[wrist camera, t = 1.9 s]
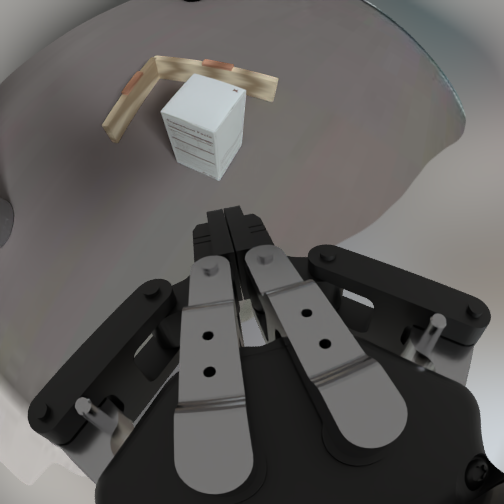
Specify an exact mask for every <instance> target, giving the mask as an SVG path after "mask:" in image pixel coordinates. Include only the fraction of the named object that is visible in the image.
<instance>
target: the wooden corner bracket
mask: <svg viewBox="0 0 504 504" xmlns="http://www.w3.org/2000/svg"><path fill="white" fill-rule="evenodd" d="M194 73H195V74H199V75H202V76H206V77H209V78H213V79H216V80H219V81H222V82H225V83H228V84H231V85H234V86H237V87H239V88H242V89H245V90H246V95H248V96H252V97H256V98H259V99H263V100H266V101H270V102H273V99H274V96H275V92H276V88H277V83H278V79H279V78H276V77H272V76H268V75H265V74H261V73H257V72H253V71H249V70H245V69H240V68H236V67H234V64H229V63H224V62H218V61H213V60H207V59H205V60H204V61H198V60H191V59H183V58H175V57H166V56H155V57H154V58H153V57H151V58H150V59H149V60H148V62H147V63H146V64H145V65H144V67H143V68H142V69H141V70H140V72H138V71H137V72H136V73H135V75H134V76H133V77H132V78H131V80H130V81H129V82H128V84H127V85H126V86H125V88H124V89H123V91H122V96H121V97H120V98H119V100H118V101H117V103H116V104H115V106H114V107H113V109H112V110H111V112H110V113H109V115H108V116H107V118H106V119H105V121H104V123H103V124H102V126H103V128H104V130H105V131H106V133H107V134H108V136H109V138H110V139H111V141H112V142H115V143H118V142H119V141H120V139H121V137H122V135H123V134H124V132H125V130H126V129H127V127H128V125H129V124H130V122H131V120H132V119H133V117H134V116H135V114H136V112H137V111H138V109H139V108H140V106H141V105H142V103H143V102H144V100H145V99H146V97H147V96H148V94H149V93H150V91H151V90H152V89H153V87H154V86H155V84H156V83H157V82H158V80H159V79H160V78H161V79H168V80H175V81H181V82H186V81H187V80H188V79H189V78H190V77H191V76H192V75H193V74H194Z"/></svg>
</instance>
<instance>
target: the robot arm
mask: <svg viewBox="0 0 504 504" xmlns="http://www.w3.org/2000/svg"><path fill="white" fill-rule="evenodd" d="M224 215H225V217H224ZM13 217H14V215H13V209H12V206H11V204H10V203H9V202H7V201H6V200H4V199H2V198H0V248H1V247H2V246H3V245H4V244H5V242H6V241H7V239H8V237H9V235H10V233H11V229H12V226H13ZM207 218H208V223H204V224H199V225H197V226H196V227H195V229H194V230H193V244H194V245H193V246H194V262H195V263H194V264H193V265H192V267H191V270H190V276H189V277H188V278H186V279H185V280H183V281H181V282H179V283H177V284H175V285H173V286H171V284H170V282H168V281H167V280H164V279H154V280H150V281H147V282H145V283H144V284H142V285H141V286H140V287H138V288H137V289H136V290H135V291H134V292H133V293H132V294H131V295H130V296H129V297H128V298H127V299H126V300H125V301H124V302H123V303H122V304H121V305H120V306H119V307H118V308H117V309H116V310H115V311H114V312H113V313H112V314H111V315H110V316H109V317H108V318H107V319H106V320H105V321H104V322H103V323H102V325H101V326H100V327H99V328H98V329H97V330H96V331H95V332H94V333H93V334H92V335H91V336H90V337H89V338H88V339H87V340H86V341H85V342H84V343H83V344H82V345H81V347H80V348H79V349H78V350H77V351H76V352H75V353H74V354H73V355H72V356H71V357H70V358H69V360H68V361H67V362H66V363H65V364H64V365H63V366H62V367H61V368H60V369H59V371H58V372H57V373H56V374H55V375H54V376H53V377H52V378H51V380H50V381H49V382H48V383H47V384H46V385H45V386H44V388H43V389H42V390H41V391H40V392H39V393H38V395H37V396H36V397H35V398H34V399H33V401H32V402H31V404H30V406H29V410H28V421H29V424H30V426H31V428H32V429H33V430H34V431H35V432H37V433H39V434H40V435H42V436H43V437H45V438H46V439H48V440H49V441H50V442H51V443H53V444H54V445H56V446H58V447H59V448H61V449H62V450H63V451H64V452H65V453H66V454H67V455H68V456H69V458H70V459H71V460H72V461H73V462H74V463H75V464H76V465H77V466H78V467H79V468H80V469H81V470H82V471H83V472H84V473H85V474H86V475H87V476H88V477H89V478H90V479H91V480H92V481H93V482H94V483H95V484H96V489H95V503H96V504H504V473H503V472H501V471H500V470H499V469H497V468H496V467H495V466H494V465H493V464H492V463H491V462H490V461H489V459H488V458H487V456H486V454H485V450H484V446H483V441H482V434H481V419H480V410H479V407H478V404H477V401H476V399H475V397H474V396H473V394H472V393H471V392H470V391H469V390H468V389H467V388H466V387H465V385H466V381H467V377H468V372H469V368H470V364H471V359H472V353H473V348H474V345H475V344H476V343H477V341H478V340H479V338H480V337H481V335H482V334H483V332H484V330H485V329H486V327H487V326H488V324H489V322H490V319H491V314H490V311H489V309H488V307H487V306H486V305H485V303H483V302H482V301H481V300H480V299H478V298H476V297H473V296H471V295H469V294H466V293H464V292H461V291H458V290H456V289H453V288H451V287H448V286H446V285H443V284H440V283H438V282H435V281H432V280H430V279H427V278H424V277H422V276H419V275H416V274H414V273H411V272H408V271H405V270H403V269H400V268H397V267H395V266H392V265H389V264H386V263H383V262H381V261H378V260H375V259H372V258H369V257H367V256H364V255H361V254H358V253H355V252H352V251H349V250H346V249H343V248H340V247H337V246H334V245H319V246H316V247H314V248H312V249H311V250H310V251H309V253H308V257H290V256H286V254H285V253H284V252H283V250H282V249H280V248H279V247H277V246H274V244H273V242H272V240H271V238H270V236H269V234H268V232H267V230H266V228H265V226H264V225H263V222H262V220H261V218H259V217H258V216H256V215H254V214H249V215H243V213H242V210H241V208H240V206H234V207H229V208H224V213H223V210H222V209H219V210H214V211H209V212H207ZM240 286H241V288H240ZM241 289H242V293H243V296H244V300H246V299H251V303H252V309H253V314H254V317H255V319H256V322H257V324H258V326H259V329H260V331H261V334H262V336H263V338H264V340H265V343H266V345H263V346H260V347H259V346H258V347H244V340H243V334H242V327H241V320H240V314H239V312H240V305H239V301H241V300H243V299H242V293H241ZM343 289H345V290H348V291H350V292H353V293H355V294H357V295H360V296H362V297H365V298H367V299H369V300H370V301H371V302H372V303H373V305H374V308H371V307H369V306H366V305H364V304H361V303H359V302H356V301H354V300H352V299H349V298H347V297H344V296H342V295H343ZM151 333H152V334H153V337H152V338H151V339H150V340H149V341H148V342H147V344H146V345H145V346H144V347H143V348H142V349H141V351H140V352H139V353H138V354H137V355H136V356H135V358H134V355H135V352H136V350H137V349H138V348H139V347H140V346H141V344H142V343H143V342H144V341H145V340H146V339H147V338H148V336H149V335H150V334H151ZM178 364H179V372H177V373H176V374H175V375H174V376H172V378H170V380H169V381H168V382H167V383H166V384H165V385H164V387H163V388H162V390H161V391H160V392H159V394H158V395H157V397H156V398H155V399H154V401H153V402H152V404H151V405H150V407H149V408H148V409H147V411H146V412H145V414H144V415H143V416H142V418H141V419H140V421H139V422H138V424H137V425H136V426H135V428H134V425H133V423H134V421H135V420H136V419H137V417H138V416H139V415H140V414H141V412H142V411H143V410H144V408H145V407H146V406H147V404H148V403H149V402H150V400H151V399H152V398H153V397H154V395H155V394H156V393H157V391H158V390H159V389H160V387H161V386H162V385H163V384H164V382H165V381H166V379H167V378H168V377H169V376H170V374H171V373H172V372H173V370H174V369H175V368H176V366H177V365H178Z"/></svg>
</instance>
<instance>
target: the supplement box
mask: <svg viewBox="0 0 504 504" xmlns="http://www.w3.org/2000/svg"><path fill="white" fill-rule="evenodd" d="M245 101H246V90H245V89H242V88H239V87H237V86H234V85H231V84H228V83H225V82H222V81H219V80H216V79H213V78H209V77H206V76H202V75H199V74H195V73H194V74H193V75H192V76H191V77H190V78H189V79H188V80H187V81H186V82H185V84H184V85H183V86H182V87H181V88H180V89H179V90H178V91H177V93H176V94H175V95H174V96H173V97H172V98H171V100H170V101H169V102H168V103H167V104H166V105H165V107H164V108H163V109H162V110H161V114H162V118H163V121H164V124H165V127H166V130H167V133H168V136H169V139H170V142H171V145H172V148H173V151H174V154H175V157H176V160H177V162H178V163H180V164H182V165H184V166H187V167H189V168H191V169H194V170H196V171H198V172H200V173H203V174H205V175H207V176H209V177H211V178H214V179H216V180H218V181H220V179H221V178H222V176H223V175H224V173H225V171H226V170H227V168H228V166H229V165H230V163H231V161H232V160H233V158H234V156H235V155H236V153H237V152H238V150H239V148H240V147H241V145H242V136H243V123H244V112H245Z"/></svg>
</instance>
